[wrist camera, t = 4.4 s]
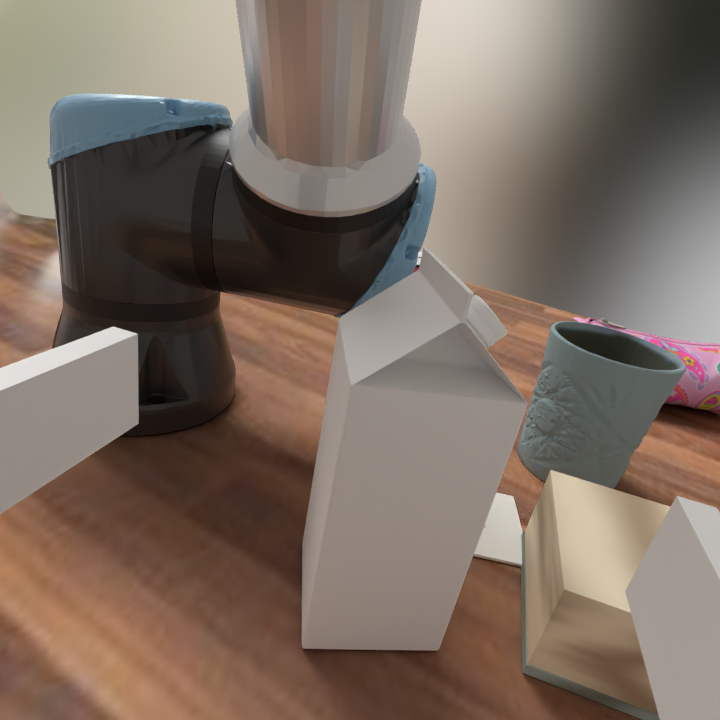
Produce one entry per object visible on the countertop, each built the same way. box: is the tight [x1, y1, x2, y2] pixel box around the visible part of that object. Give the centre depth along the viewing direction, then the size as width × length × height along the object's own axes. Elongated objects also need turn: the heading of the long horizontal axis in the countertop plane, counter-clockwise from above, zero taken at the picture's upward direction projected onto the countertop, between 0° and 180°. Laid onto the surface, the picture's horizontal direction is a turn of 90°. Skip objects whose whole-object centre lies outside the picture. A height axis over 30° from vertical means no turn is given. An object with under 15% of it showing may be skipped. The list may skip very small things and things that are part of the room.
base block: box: [521, 470, 670, 720], centre depth 27 cm, size 10×10×6 cm
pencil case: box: [573, 317, 720, 415], centre depth 59 cm, size 21×9×9 cm, turn 84°
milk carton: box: [302, 248, 528, 651], centre depth 24 cm, size 7×7×19 cm
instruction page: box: [473, 493, 523, 567], centre depth 35 cm, size 10×7×1 cm
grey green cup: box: [518, 321, 686, 489], centre depth 41 cm, size 10×10×12 cm
